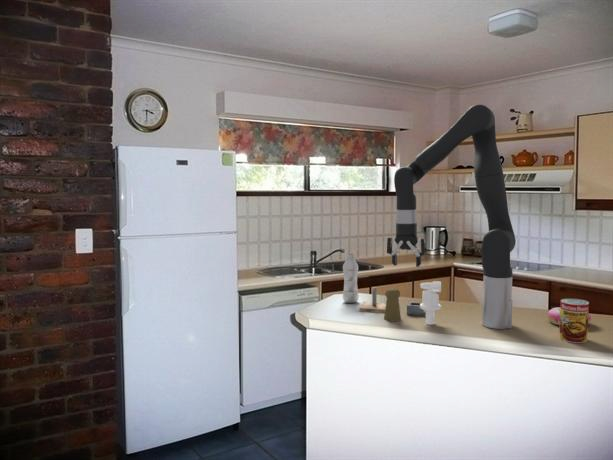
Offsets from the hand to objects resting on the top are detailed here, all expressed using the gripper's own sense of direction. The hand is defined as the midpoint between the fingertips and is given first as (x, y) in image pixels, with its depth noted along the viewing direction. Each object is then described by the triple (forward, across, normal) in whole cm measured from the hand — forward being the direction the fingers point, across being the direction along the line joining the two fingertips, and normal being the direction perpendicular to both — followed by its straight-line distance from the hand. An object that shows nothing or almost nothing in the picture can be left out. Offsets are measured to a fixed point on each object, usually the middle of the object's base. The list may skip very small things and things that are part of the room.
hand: (406, 265), depth 195 cm
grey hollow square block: (+18, -2, -4) cm, 19 cm away
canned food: (+19, -55, +6) cm, 59 cm away
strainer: (+19, -11, +8) cm, 23 cm away
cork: (+18, +3, +8) cm, 20 cm away
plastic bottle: (+18, +26, -9) cm, 33 cm away
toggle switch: (+18, +14, -4) cm, 23 cm away
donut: (+19, -54, -13) cm, 58 cm away
